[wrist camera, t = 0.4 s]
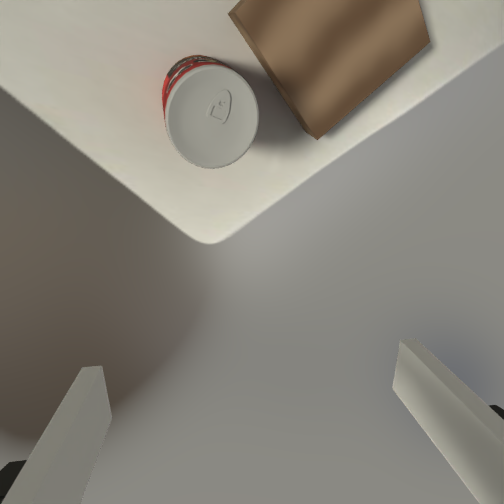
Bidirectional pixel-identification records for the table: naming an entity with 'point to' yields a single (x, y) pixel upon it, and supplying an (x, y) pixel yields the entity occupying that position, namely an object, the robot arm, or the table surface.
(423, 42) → the walnut stand
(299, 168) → the table surface
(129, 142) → the table surface
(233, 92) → the canned food
